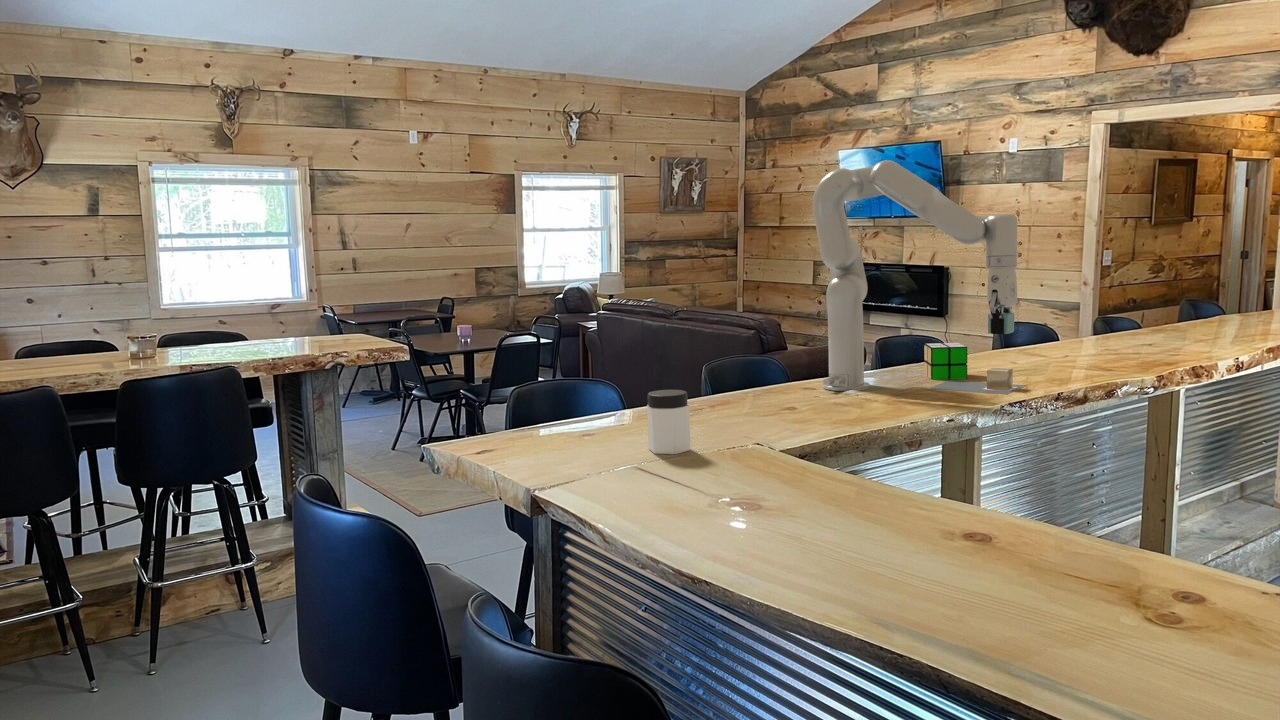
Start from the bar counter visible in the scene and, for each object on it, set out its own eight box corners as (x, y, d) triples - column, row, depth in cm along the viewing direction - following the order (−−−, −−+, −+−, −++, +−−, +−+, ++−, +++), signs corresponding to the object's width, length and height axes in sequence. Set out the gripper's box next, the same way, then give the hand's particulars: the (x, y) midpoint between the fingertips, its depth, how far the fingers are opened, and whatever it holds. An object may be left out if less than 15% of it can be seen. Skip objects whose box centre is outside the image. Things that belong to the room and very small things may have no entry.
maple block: (1006, 390, 239) (1006, 371, 239) (986, 388, 242) (986, 370, 242) (1012, 387, 243) (1012, 368, 242) (993, 386, 246) (993, 367, 246)
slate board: (1007, 397, 234) (1007, 394, 234) (926, 391, 247) (926, 388, 247) (1027, 388, 246) (1027, 384, 246) (949, 382, 259) (949, 379, 259)
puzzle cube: (959, 376, 271) (959, 342, 269) (967, 381, 261) (967, 346, 259) (923, 377, 272) (923, 343, 270) (931, 382, 262) (931, 347, 260)
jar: (670, 443, 197) (668, 387, 195) (698, 448, 191) (696, 391, 189) (640, 451, 191) (637, 393, 189) (667, 456, 185) (665, 397, 183)
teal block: (1007, 333, 237) (1007, 314, 237) (988, 333, 240) (988, 314, 240) (1014, 331, 241) (1014, 312, 240) (994, 331, 244) (994, 312, 244)
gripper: (1005, 264, 230) (1005, 336, 232) (1026, 260, 243) (1026, 329, 245) (975, 264, 234) (975, 336, 237) (997, 261, 247) (997, 329, 250)
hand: (1001, 332), depth 241 cm, fingers closed on teal block, 5 cm apart
